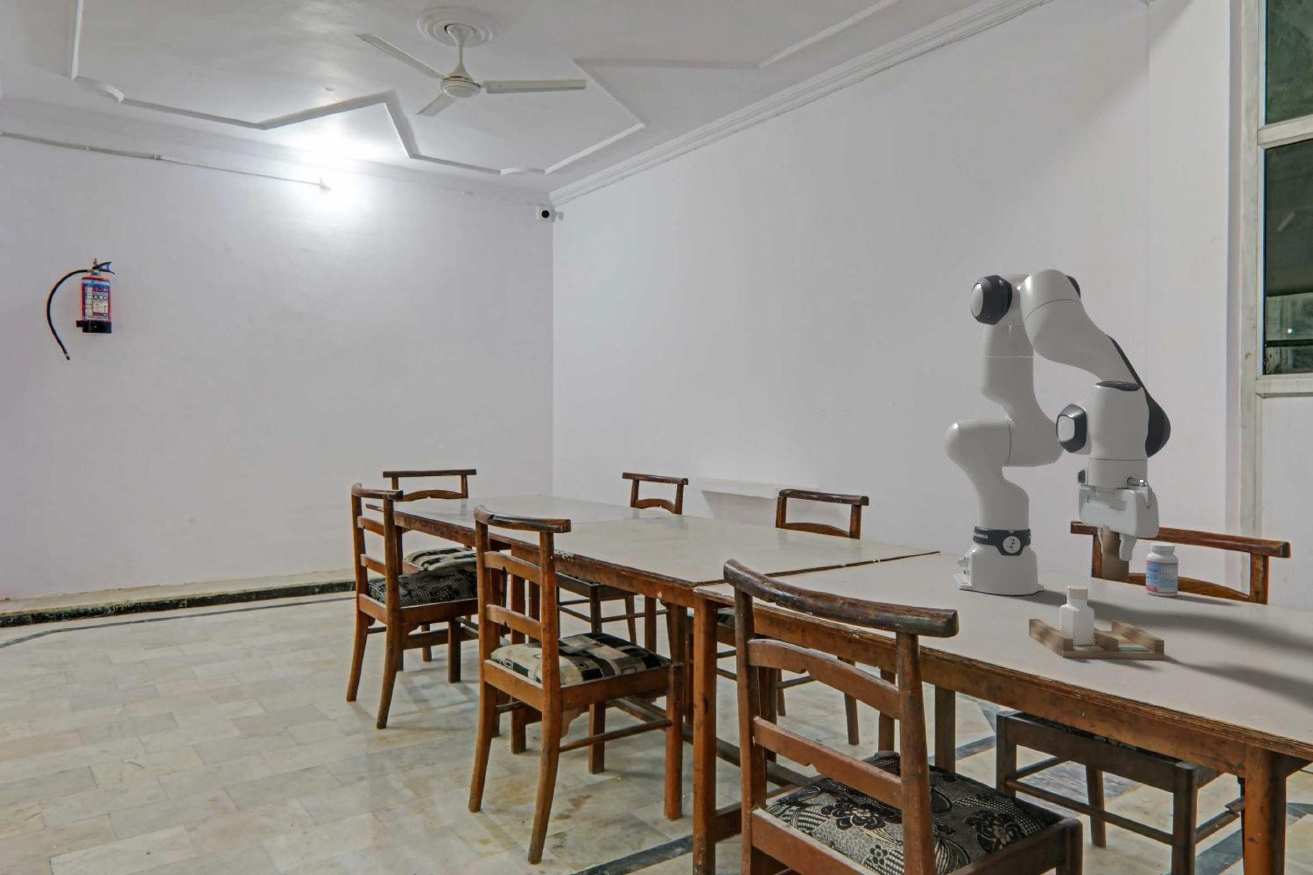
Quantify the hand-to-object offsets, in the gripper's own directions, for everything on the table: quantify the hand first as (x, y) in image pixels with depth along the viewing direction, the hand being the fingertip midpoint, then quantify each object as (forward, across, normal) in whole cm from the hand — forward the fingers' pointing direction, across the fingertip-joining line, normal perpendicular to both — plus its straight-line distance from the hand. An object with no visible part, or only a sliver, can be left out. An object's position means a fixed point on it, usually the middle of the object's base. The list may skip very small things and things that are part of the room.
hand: (1116, 557), depth 143 cm
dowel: (+4, 0, 0) cm, 4 cm away
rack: (+15, 0, +4) cm, 16 cm away
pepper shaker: (+14, -2, +7) cm, 16 cm away
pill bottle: (+15, +45, -32) cm, 58 cm away
